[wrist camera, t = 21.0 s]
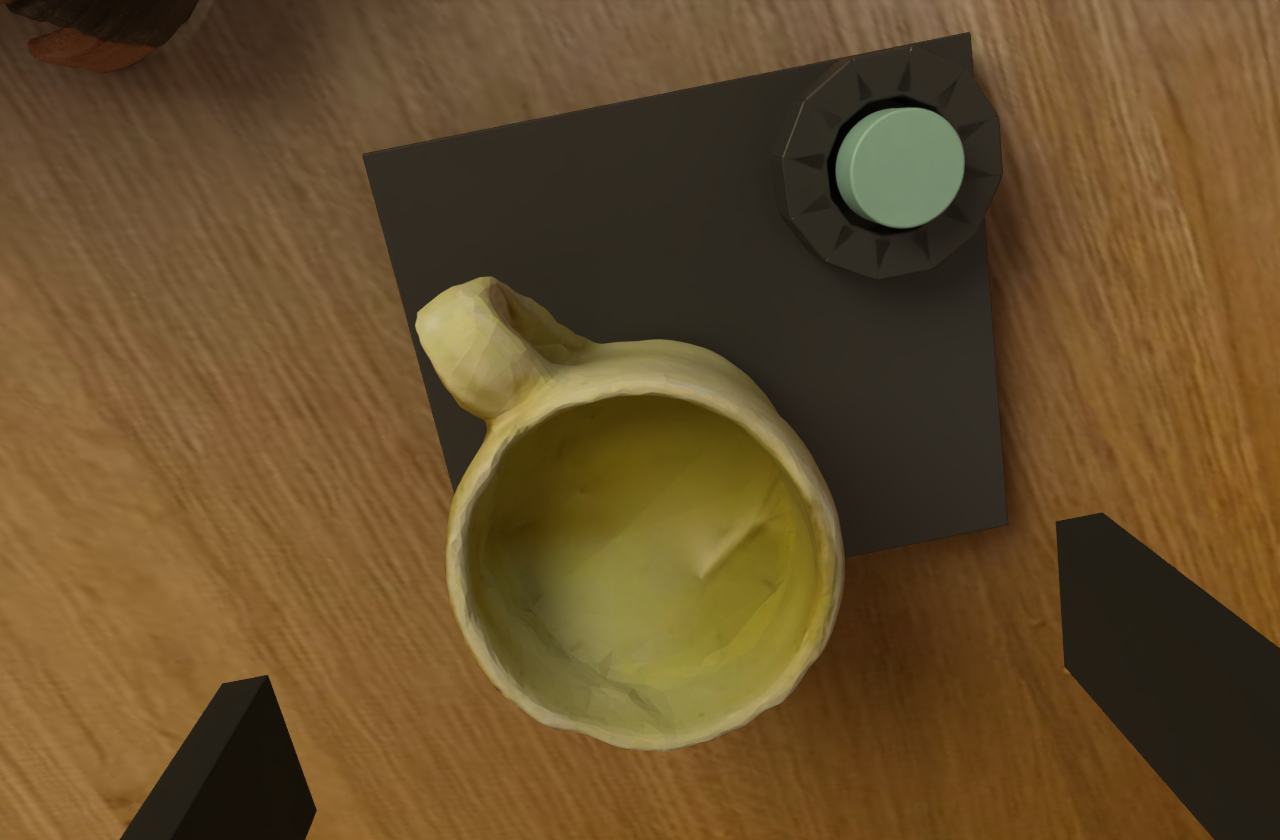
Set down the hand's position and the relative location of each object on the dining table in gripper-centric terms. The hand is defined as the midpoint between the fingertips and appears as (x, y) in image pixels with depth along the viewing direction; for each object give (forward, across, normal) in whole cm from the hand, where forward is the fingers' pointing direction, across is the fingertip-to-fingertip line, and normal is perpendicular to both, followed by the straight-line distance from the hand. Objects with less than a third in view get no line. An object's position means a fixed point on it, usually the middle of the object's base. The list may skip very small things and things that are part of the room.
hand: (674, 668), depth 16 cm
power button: (+13, +8, +6) cm, 16 cm away
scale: (+15, +2, +2) cm, 15 cm away
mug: (+14, -1, 0) cm, 14 cm away
